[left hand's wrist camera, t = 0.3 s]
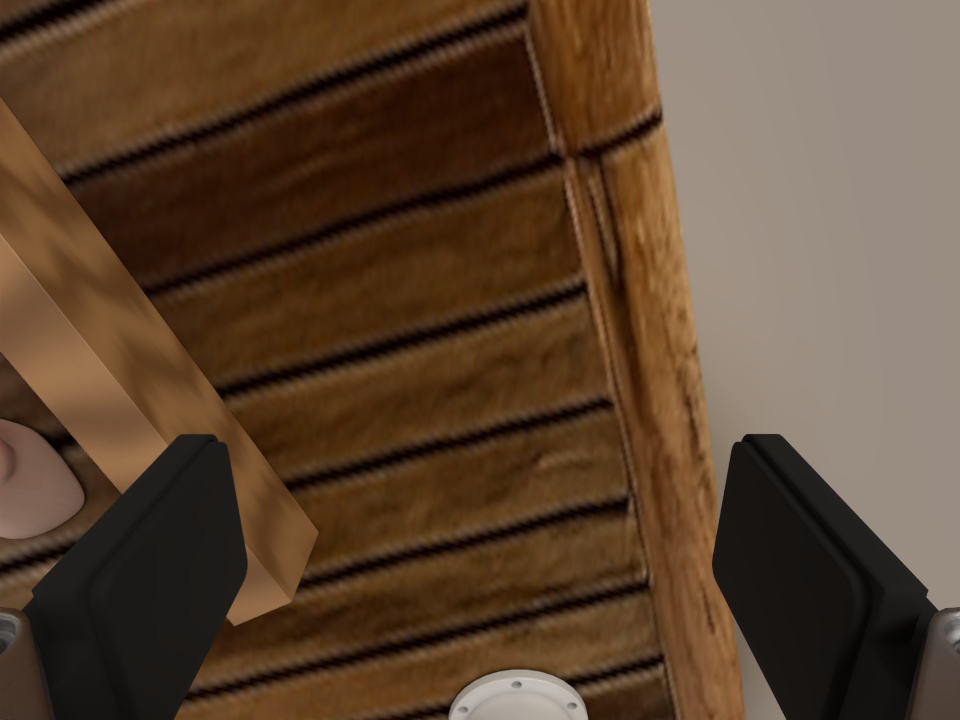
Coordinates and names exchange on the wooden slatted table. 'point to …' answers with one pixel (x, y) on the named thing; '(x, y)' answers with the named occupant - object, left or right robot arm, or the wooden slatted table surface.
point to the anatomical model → (33, 484)
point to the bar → (123, 365)
